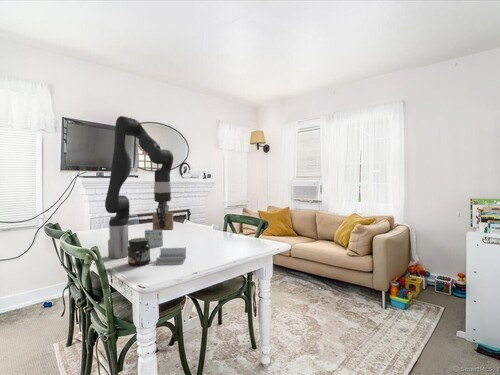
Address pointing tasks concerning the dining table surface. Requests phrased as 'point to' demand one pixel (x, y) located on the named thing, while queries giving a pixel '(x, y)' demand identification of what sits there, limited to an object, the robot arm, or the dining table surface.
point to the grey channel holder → (172, 256)
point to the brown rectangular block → (167, 222)
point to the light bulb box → (154, 237)
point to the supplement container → (138, 252)
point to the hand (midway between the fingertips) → (163, 227)
